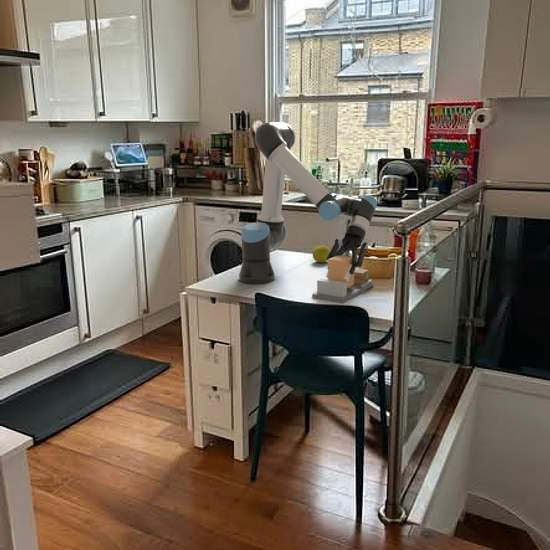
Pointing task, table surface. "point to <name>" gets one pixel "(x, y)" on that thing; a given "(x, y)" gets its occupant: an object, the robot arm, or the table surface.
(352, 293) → the vise
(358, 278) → the block
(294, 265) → the table surface
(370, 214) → the robot arm
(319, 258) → the lemon
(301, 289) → the table surface
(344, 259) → the block
